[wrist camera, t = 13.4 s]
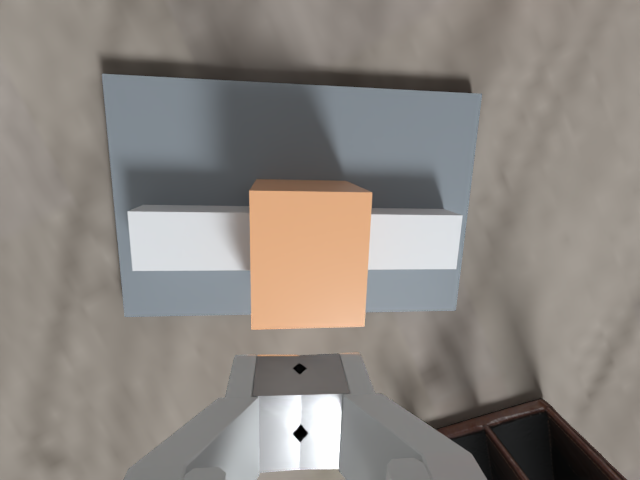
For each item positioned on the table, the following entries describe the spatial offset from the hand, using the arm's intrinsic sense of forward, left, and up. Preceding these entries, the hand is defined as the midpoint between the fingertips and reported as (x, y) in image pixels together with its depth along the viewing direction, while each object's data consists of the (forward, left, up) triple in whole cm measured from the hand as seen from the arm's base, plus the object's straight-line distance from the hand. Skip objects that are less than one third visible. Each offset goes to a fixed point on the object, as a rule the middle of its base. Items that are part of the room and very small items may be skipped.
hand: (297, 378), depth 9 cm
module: (-1, -1, -13) cm, 13 cm away
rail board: (-1, -2, -14) cm, 14 cm away
